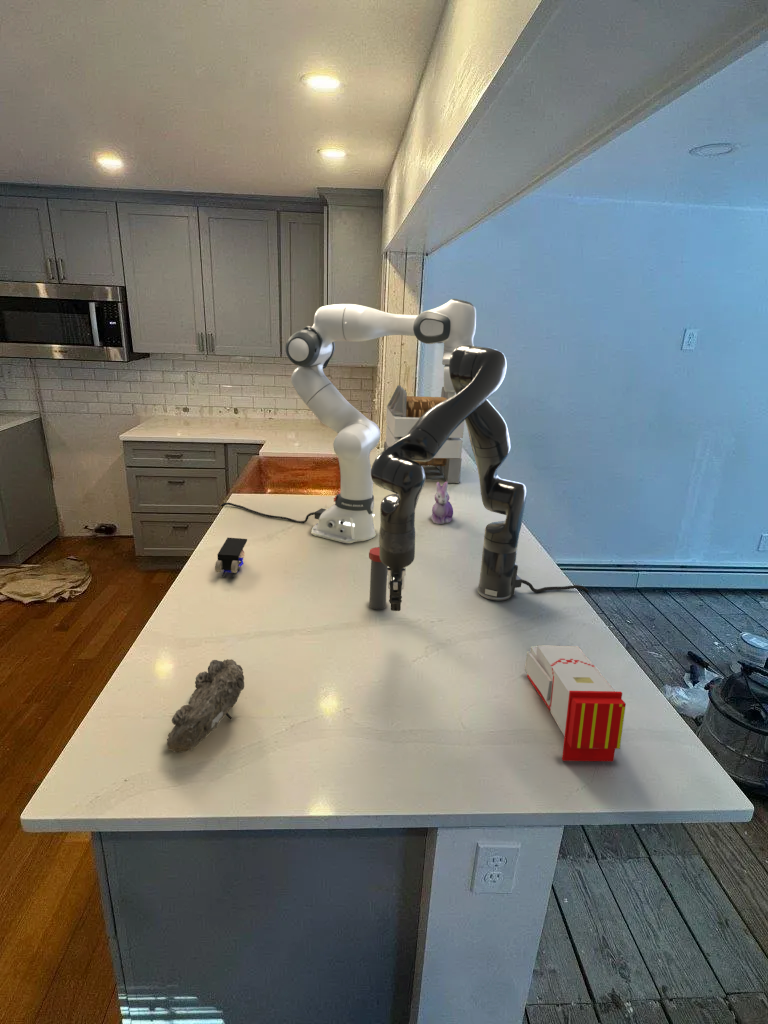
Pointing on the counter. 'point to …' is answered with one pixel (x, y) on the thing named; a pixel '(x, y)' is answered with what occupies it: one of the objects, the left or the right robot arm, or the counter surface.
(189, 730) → the fossil
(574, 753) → the toy
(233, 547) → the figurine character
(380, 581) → the jar
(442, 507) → the figurine
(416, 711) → the counter surface
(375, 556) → the lid
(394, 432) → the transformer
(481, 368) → the right robot arm
